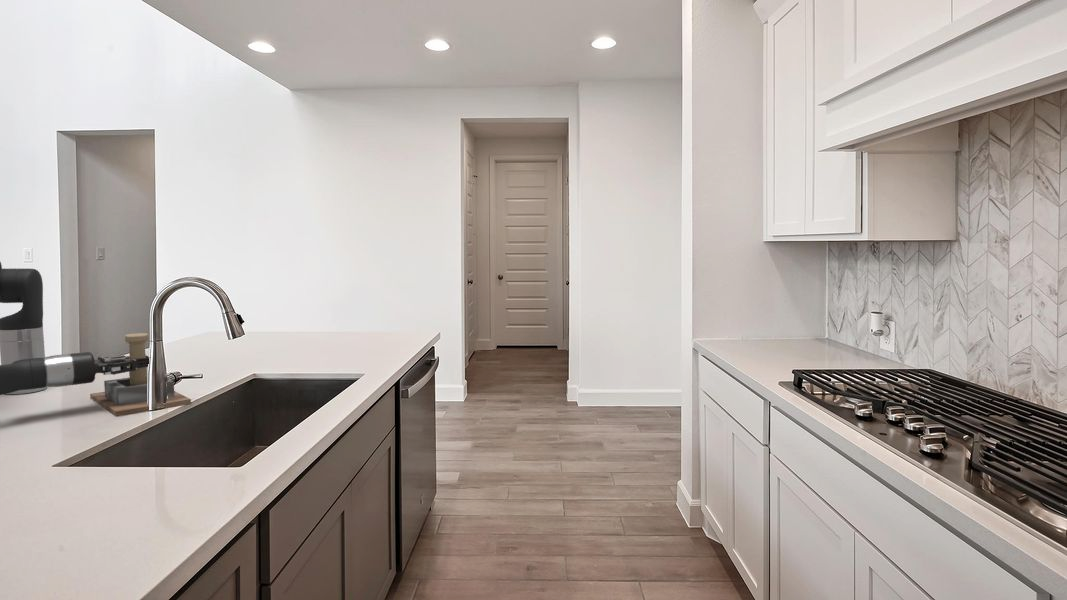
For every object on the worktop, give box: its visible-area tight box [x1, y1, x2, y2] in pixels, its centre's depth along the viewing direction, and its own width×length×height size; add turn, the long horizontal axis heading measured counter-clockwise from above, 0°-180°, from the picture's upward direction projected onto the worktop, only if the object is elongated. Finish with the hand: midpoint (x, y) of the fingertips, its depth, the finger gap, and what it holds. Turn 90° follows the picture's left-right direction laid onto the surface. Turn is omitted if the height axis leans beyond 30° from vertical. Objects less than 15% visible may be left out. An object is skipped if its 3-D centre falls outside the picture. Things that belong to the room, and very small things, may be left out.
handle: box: [124, 332, 149, 386], centre depth 154 cm, size 5×6×15 cm
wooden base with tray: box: [89, 376, 192, 418], centre depth 155 cm, size 24×16×5 cm, turn 48°
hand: (150, 360), depth 156 cm, fingers closed on handle, 3 cm apart
